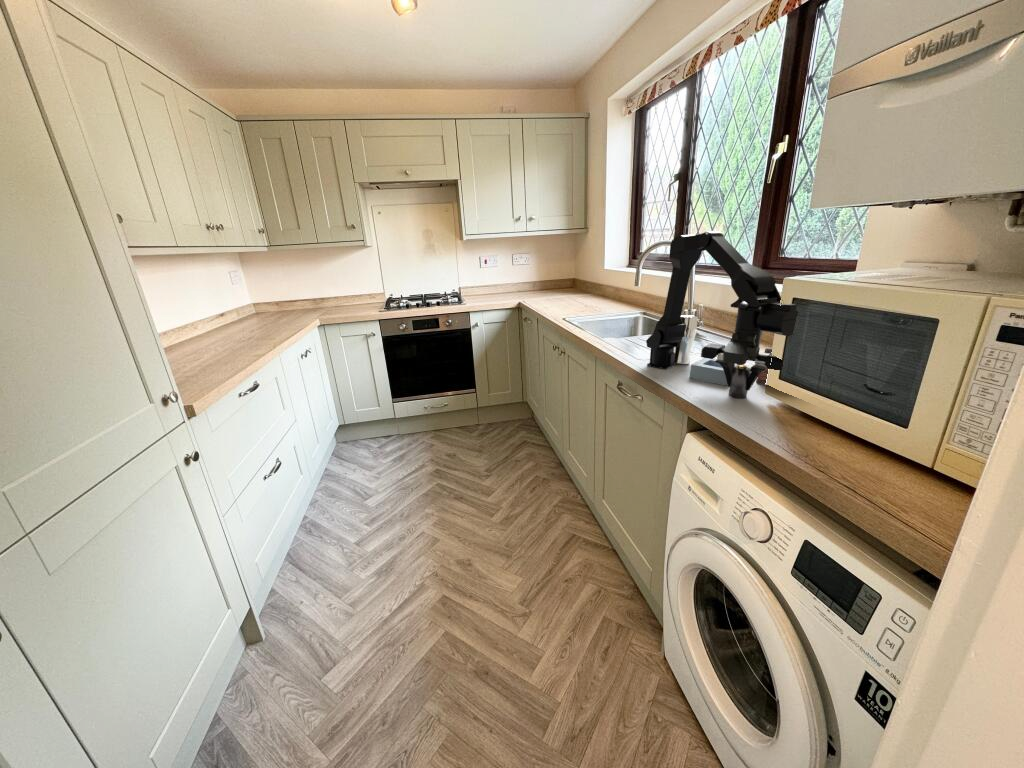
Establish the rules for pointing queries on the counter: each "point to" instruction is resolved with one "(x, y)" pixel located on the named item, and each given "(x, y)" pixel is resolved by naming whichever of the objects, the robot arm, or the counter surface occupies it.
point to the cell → (739, 381)
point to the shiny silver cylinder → (686, 340)
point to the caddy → (708, 371)
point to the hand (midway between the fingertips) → (738, 388)
